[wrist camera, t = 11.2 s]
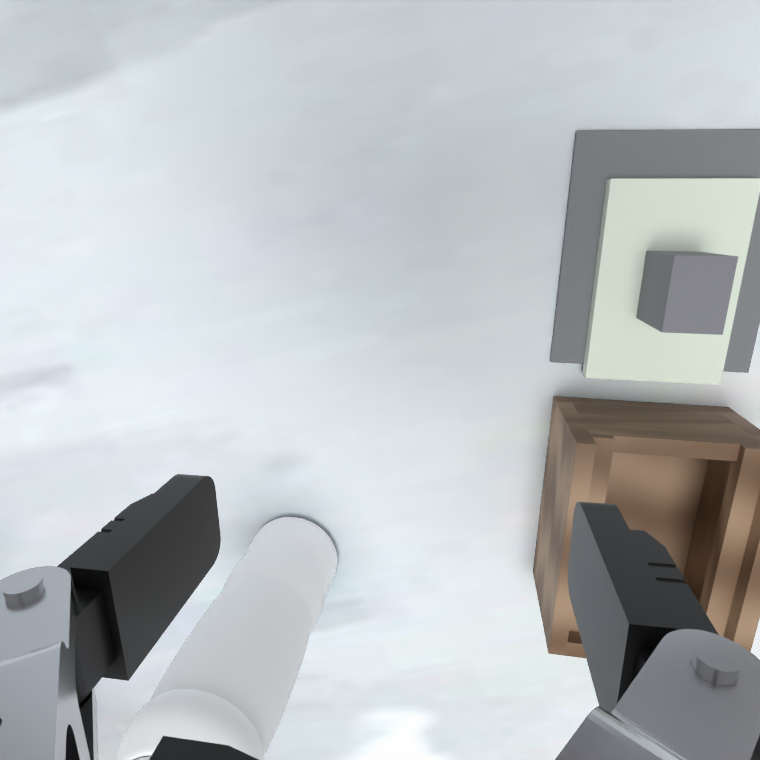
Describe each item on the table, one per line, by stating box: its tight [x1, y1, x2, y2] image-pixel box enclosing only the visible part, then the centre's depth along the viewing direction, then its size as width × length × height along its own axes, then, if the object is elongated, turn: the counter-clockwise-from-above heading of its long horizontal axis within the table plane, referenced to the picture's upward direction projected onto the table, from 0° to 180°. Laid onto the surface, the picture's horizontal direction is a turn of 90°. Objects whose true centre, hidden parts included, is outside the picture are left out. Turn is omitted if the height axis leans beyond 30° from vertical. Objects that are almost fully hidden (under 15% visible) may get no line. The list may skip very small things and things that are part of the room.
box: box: [533, 397, 760, 658], centre depth 34 cm, size 14×11×8 cm
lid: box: [582, 178, 760, 385], centre depth 30 cm, size 12×8×6 cm, turn 179°
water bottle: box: [117, 517, 338, 760], centre depth 31 cm, size 7×7×25 cm
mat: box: [550, 129, 760, 373], centre depth 32 cm, size 14×12×1 cm
